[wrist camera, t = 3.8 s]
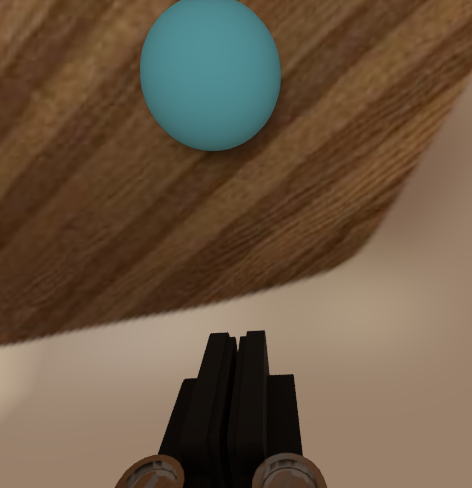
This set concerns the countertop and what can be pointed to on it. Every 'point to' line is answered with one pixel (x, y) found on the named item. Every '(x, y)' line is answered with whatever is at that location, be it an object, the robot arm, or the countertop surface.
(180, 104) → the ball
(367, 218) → the countertop surface
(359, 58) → the countertop surface
